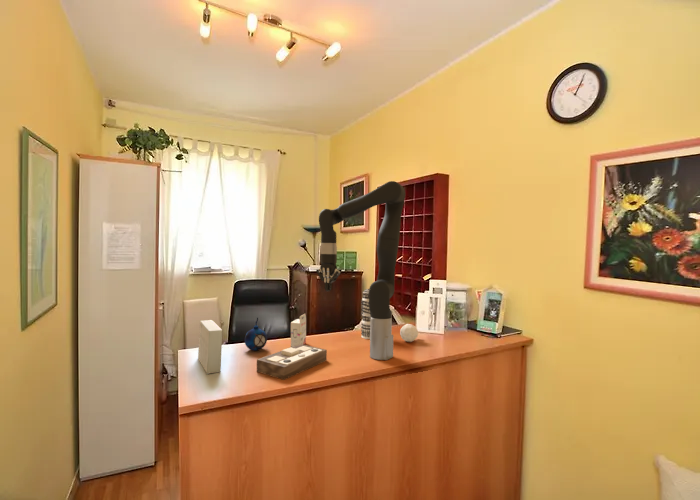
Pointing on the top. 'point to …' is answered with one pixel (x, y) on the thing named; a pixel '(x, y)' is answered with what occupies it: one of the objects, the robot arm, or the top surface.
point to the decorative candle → (365, 315)
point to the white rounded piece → (409, 332)
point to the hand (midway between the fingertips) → (328, 290)
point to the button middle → (290, 352)
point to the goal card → (299, 356)
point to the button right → (304, 348)
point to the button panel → (293, 368)
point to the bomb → (255, 338)
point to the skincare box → (210, 346)
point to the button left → (276, 359)
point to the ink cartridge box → (298, 331)
